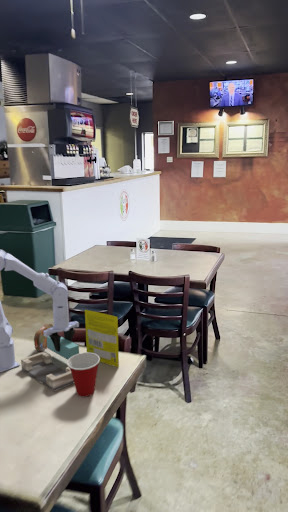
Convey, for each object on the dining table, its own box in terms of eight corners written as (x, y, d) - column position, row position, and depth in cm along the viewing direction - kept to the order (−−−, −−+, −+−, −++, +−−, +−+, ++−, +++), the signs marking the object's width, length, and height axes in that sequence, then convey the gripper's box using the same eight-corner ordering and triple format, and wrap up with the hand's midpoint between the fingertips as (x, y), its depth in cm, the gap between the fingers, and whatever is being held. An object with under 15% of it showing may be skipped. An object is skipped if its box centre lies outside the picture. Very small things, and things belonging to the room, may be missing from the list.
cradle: (21, 369, 163) (21, 359, 162) (45, 360, 169) (44, 351, 169) (53, 391, 147) (53, 380, 146) (78, 380, 154) (77, 370, 153)
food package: (119, 366, 164) (118, 316, 159) (117, 368, 163) (116, 317, 158) (87, 357, 172) (85, 309, 167) (86, 358, 171) (83, 310, 167)
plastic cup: (61, 393, 146) (59, 359, 143) (86, 381, 154) (85, 349, 151) (82, 405, 139) (81, 370, 136) (107, 391, 146) (106, 358, 144)
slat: (47, 348, 173) (46, 336, 172) (56, 345, 175) (55, 333, 174) (70, 361, 161) (69, 348, 160) (79, 357, 164) (78, 345, 163)
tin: (40, 354, 175) (39, 334, 173) (33, 353, 176) (32, 334, 174) (55, 339, 190) (54, 321, 188) (48, 339, 190) (47, 320, 188)
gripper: (49, 323, 157) (51, 358, 160) (82, 313, 167) (84, 346, 170) (39, 318, 162) (41, 352, 165) (72, 308, 172) (73, 341, 175)
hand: (62, 348), depth 168 cm, fingers closed on slat, 4 cm apart
